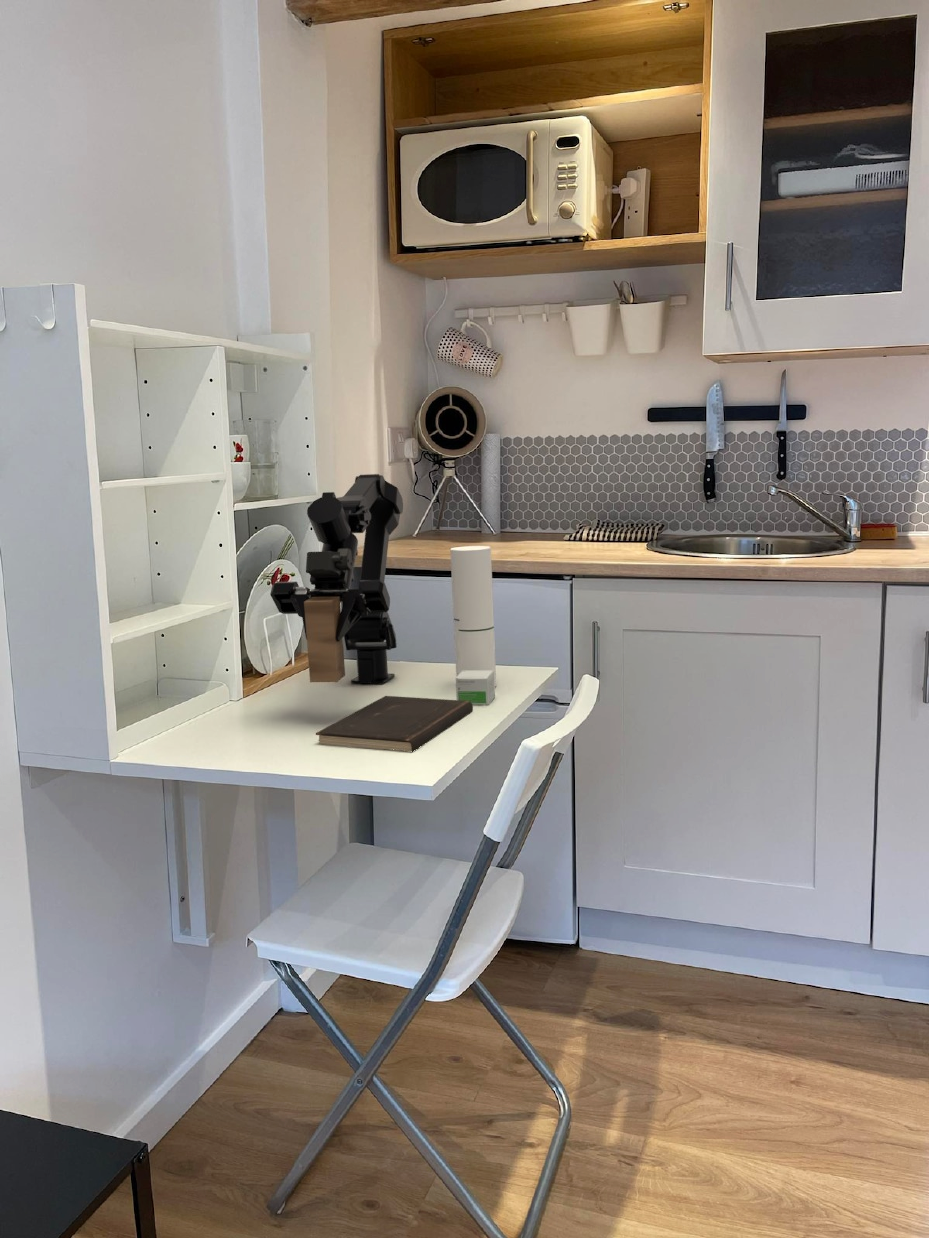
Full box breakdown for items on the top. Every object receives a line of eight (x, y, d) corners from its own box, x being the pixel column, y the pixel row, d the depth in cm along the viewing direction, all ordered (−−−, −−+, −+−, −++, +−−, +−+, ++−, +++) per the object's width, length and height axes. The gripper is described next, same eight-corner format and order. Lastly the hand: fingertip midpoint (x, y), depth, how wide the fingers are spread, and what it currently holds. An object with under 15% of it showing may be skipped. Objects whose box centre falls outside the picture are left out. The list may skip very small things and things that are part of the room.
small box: (456, 705, 173) (454, 677, 172) (463, 697, 178) (462, 669, 177) (489, 706, 171) (488, 677, 170) (495, 697, 177) (494, 669, 176)
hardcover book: (316, 747, 154) (315, 732, 153) (386, 708, 174) (385, 695, 174) (413, 756, 147) (412, 740, 147) (473, 714, 168) (472, 701, 168)
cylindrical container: (482, 679, 190) (477, 545, 185) (503, 686, 184) (498, 547, 179) (449, 685, 186) (442, 548, 182) (469, 693, 180) (463, 551, 176)
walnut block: (318, 675, 168) (312, 597, 165) (345, 675, 167) (339, 596, 164) (310, 682, 163) (304, 601, 161) (337, 682, 162) (331, 601, 160)
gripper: (269, 533, 166) (250, 612, 157) (381, 529, 163) (368, 610, 154) (288, 574, 175) (272, 651, 167) (395, 571, 172) (384, 650, 163)
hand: (322, 640), depth 163 cm, fingers closed on walnut block, 4 cm apart
